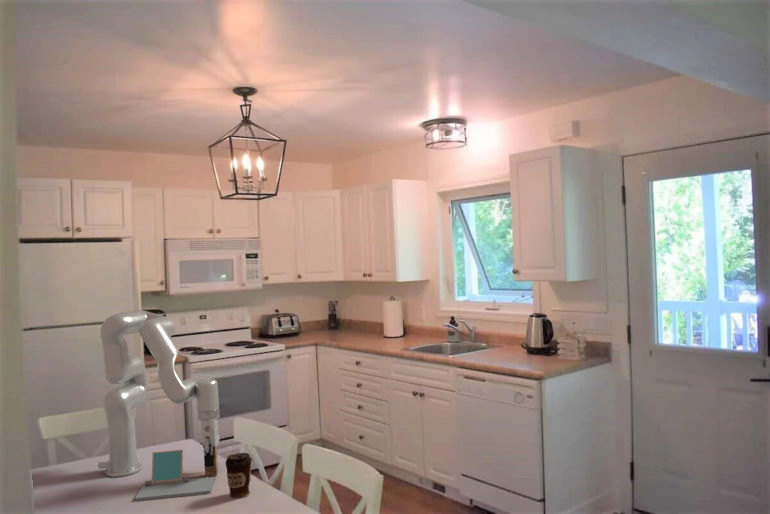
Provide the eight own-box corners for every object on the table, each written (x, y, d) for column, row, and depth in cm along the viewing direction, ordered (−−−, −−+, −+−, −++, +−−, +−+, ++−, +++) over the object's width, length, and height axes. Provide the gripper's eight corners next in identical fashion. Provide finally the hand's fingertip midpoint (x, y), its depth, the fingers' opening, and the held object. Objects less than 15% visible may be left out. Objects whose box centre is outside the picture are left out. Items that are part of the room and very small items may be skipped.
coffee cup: (246, 500, 197) (244, 460, 197) (222, 500, 199) (220, 459, 199) (257, 490, 206) (255, 451, 206) (234, 489, 208) (232, 451, 207)
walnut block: (205, 477, 220) (203, 444, 220) (206, 473, 224) (205, 441, 224) (216, 476, 221) (215, 443, 221) (218, 472, 225) (216, 440, 225)
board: (135, 501, 202) (134, 493, 202) (144, 486, 215) (144, 479, 214) (210, 493, 205) (210, 486, 205) (215, 479, 218) (215, 472, 218)
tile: (152, 452, 216) (153, 452, 217) (151, 482, 212) (152, 482, 213) (182, 449, 217) (182, 449, 218) (181, 479, 214) (182, 479, 215)
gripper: (216, 419, 214) (218, 469, 214) (222, 407, 232) (224, 453, 232) (193, 421, 213) (196, 471, 213) (201, 409, 230) (204, 455, 231)
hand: (211, 461), depth 222 cm, fingers open, 8 cm apart
